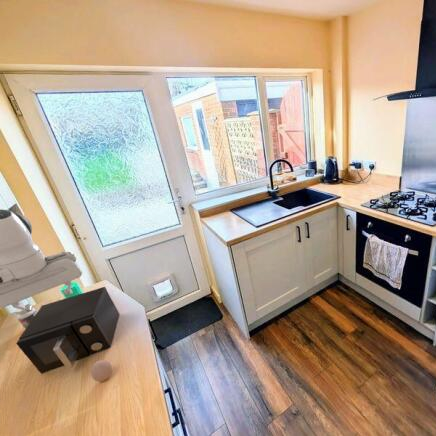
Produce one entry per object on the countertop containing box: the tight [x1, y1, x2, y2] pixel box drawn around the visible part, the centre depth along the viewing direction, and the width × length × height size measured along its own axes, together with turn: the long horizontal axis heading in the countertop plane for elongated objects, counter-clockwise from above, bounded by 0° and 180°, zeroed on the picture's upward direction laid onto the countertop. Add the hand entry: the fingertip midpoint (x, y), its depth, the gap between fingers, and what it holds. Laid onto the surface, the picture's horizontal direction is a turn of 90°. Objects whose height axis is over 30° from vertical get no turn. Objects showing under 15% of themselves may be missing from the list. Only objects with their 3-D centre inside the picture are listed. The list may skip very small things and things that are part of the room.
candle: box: [59, 281, 84, 299], centre depth 109 cm, size 6×6×12 cm
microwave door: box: [15, 323, 91, 375], centre depth 79 cm, size 7×14×15 cm, turn 114°
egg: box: [90, 359, 113, 382], centre depth 77 cm, size 5×5×7 cm
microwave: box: [18, 286, 121, 355], centre depth 89 cm, size 18×20×15 cm
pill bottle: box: [15, 307, 38, 330], centre depth 100 cm, size 5×5×10 cm
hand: (50, 302), depth 75 cm, fingers open, 8 cm apart
